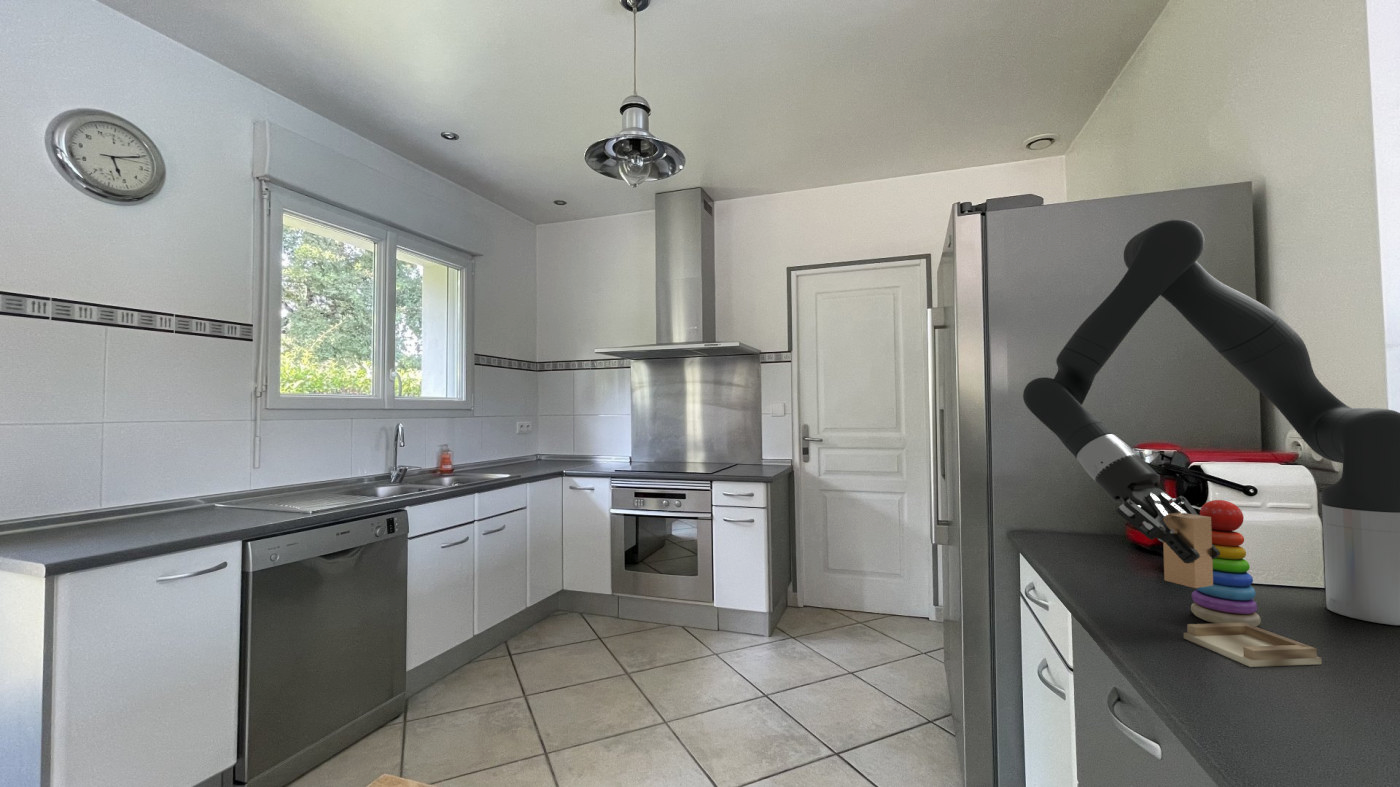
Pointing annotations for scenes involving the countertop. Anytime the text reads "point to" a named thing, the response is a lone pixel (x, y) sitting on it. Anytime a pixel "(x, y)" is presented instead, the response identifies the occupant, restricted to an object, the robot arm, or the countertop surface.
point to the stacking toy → (1226, 571)
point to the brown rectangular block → (1200, 539)
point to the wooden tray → (1251, 645)
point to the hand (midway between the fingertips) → (1203, 558)
